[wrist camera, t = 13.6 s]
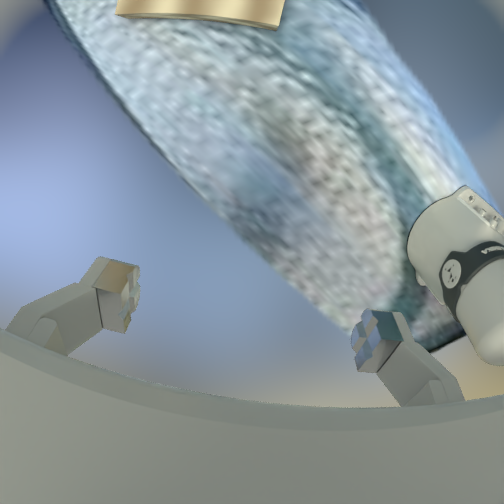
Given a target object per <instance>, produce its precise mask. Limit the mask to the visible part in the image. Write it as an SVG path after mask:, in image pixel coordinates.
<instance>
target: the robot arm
mask: <svg viewBox="0 0 504 504" xmlns="http://www.w3.org/2000/svg"><path fill="white" fill-rule="evenodd" d="M469 197H470V198H469ZM407 251H408V257H409V260H410V262H411V264H412V265H413V267H414V268H415V270H416V280H417V282H418V283H419V284H420V285H421V286H427V287H428V288H429V290H430V291H431V292H432V294H433V295H434V296H435V298H436V299H437V300H438V302H439V303H440V304H441V305H446V306H447V308H448V310H449V312H450V314H451V315H452V316H453V317H454V318H455V320H456V321H457V322H459V323H461V325H462V327H463V328H464V330H465V332H466V334H467V336H468V337H469V339H470V341H471V343H472V345H473V347H474V349H475V351H476V353H477V355H478V356H479V357H480V358H481V359H482V360H483V361H484V362H486V363H488V364H491V365H496V366H504V218H503V217H502V216H501V215H500V214H499V213H498V212H497V211H496V210H495V209H494V208H492V207H491V206H490V205H489V204H488V203H487V202H486V201H485V200H483V199H482V198H481V197H480V196H479V195H478V194H477V193H475V192H474V191H473V190H472V189H471V188H469V187H468V186H463V187H461V188H460V189H459V190H457V191H456V192H455V193H454V194H453V195H452V196H450V197H447V198H444V199H442V200H439V201H437V202H436V203H434V204H432V205H431V206H430V207H428V208H427V209H426V210H425V211H424V212H423V213H422V214H421V215H420V217H419V218H418V219H417V221H416V222H415V224H414V226H413V228H412V230H411V232H410V235H409V239H408V245H407ZM139 276H140V268H139V266H137V265H133V264H129V263H125V262H121V261H118V260H114V259H109V258H105V257H98V258H96V260H95V261H94V263H93V264H92V265H91V267H90V268H89V269H88V271H87V272H86V273H85V275H84V276H83V277H82V279H81V281H80V282H79V283H73V284H70V285H68V286H66V287H64V288H62V289H60V290H57V291H55V292H53V293H51V294H48V295H46V296H44V297H42V298H40V299H38V300H36V301H34V302H31V303H30V304H27V305H25V306H23V307H22V308H21V309H20V310H19V311H18V313H17V314H16V316H15V317H14V319H13V320H12V321H11V323H10V324H9V325H8V327H7V328H6V330H3V329H1V328H0V504H504V394H503V395H497V396H492V397H487V398H480V399H474V400H467V401H465V399H464V396H463V394H462V391H461V389H460V387H459V384H458V381H457V379H456V378H455V377H454V376H453V375H452V374H451V373H450V372H449V371H448V370H447V369H446V368H445V367H444V366H442V364H440V363H439V362H438V361H437V360H436V359H435V358H434V357H433V356H432V355H431V354H430V353H429V352H428V351H426V350H425V349H424V348H423V347H422V346H421V345H420V344H419V343H415V341H414V339H413V336H412V334H411V332H410V329H409V327H408V325H407V323H406V320H405V318H404V316H403V314H401V313H400V312H391V311H389V312H388V311H381V310H374V309H366V310H365V311H364V312H363V313H362V315H361V319H362V321H361V322H359V323H358V324H356V325H355V327H354V329H353V331H352V335H351V346H352V349H353V350H354V351H355V352H356V353H357V354H356V356H355V362H356V366H357V370H358V372H370V373H377V375H378V377H379V378H380V379H381V381H382V382H383V383H384V385H385V386H386V387H387V388H388V390H389V391H390V392H391V394H392V395H393V396H394V398H395V399H396V400H397V401H398V403H399V404H400V406H401V407H381V408H342V407H341V408H340V407H316V406H300V405H288V404H277V403H267V402H259V401H250V400H243V399H236V398H229V397H223V396H217V395H211V394H205V393H200V392H195V391H190V390H185V389H180V388H175V387H171V386H167V385H162V384H158V383H154V382H150V381H146V380H142V379H138V378H134V377H131V376H127V375H124V374H120V373H117V372H113V371H110V370H106V369H103V368H100V367H96V366H94V365H91V364H88V363H84V362H82V361H79V360H76V359H73V358H70V357H68V354H69V353H71V352H72V351H74V350H75V349H76V348H78V347H79V346H80V345H82V344H83V343H84V342H86V341H87V340H89V339H90V338H91V337H93V336H94V335H96V334H97V333H98V332H100V331H101V330H102V328H104V329H107V330H111V331H115V332H120V333H124V334H125V332H126V330H127V328H128V325H129V323H130V321H131V313H132V312H134V311H135V310H136V307H137V305H138V301H139V297H140V285H139V283H138V282H137V280H138V278H139Z"/></svg>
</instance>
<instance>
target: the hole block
mask: <svg viewBox="0 0 504 504" xmlns="http://www.w3.org/2000/svg"><path fill="white" fill-rule="evenodd" d="M284 1H285V0H118V3H117V7H116V12H115V15H118V16H121V17H125V18H128V19H133V18H174V19H193V20H206V21H216V22H225V23H233V24H240V25H246V26H253V27H258V28H264V29H269V30H274V31H276V30H277V28H278V26H279V22H280V18H281V14H282V10H283V5H284Z"/></svg>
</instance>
